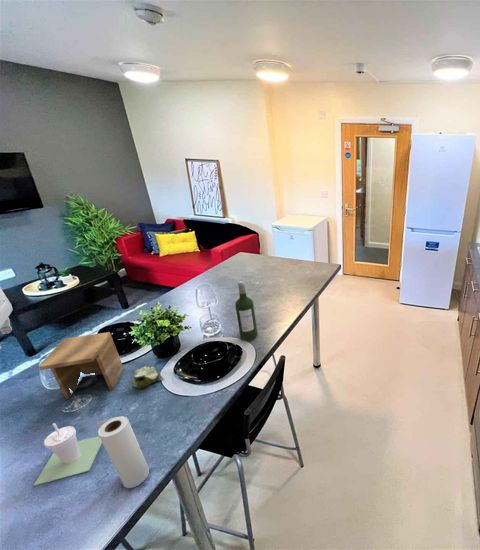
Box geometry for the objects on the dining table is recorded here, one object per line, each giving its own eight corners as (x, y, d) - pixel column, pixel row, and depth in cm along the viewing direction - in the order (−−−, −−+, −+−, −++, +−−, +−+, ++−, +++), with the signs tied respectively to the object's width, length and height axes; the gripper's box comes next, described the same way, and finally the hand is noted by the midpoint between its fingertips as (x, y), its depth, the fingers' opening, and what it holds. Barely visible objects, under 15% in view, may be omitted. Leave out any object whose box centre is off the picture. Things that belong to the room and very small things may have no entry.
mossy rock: (148, 395, 110) (137, 382, 106) (131, 390, 113) (120, 377, 109) (168, 375, 117) (159, 362, 113) (152, 371, 120) (142, 358, 116)
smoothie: (87, 443, 90) (70, 411, 85) (86, 459, 86) (68, 427, 80) (58, 456, 86) (38, 423, 81) (56, 473, 82) (34, 440, 76)
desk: (60, 407, 102) (37, 367, 95) (81, 376, 116) (63, 338, 108) (108, 397, 107) (91, 358, 99) (124, 368, 120) (109, 331, 113)
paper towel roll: (151, 478, 82) (129, 426, 73) (124, 493, 78) (98, 441, 70) (146, 459, 87) (125, 408, 78) (121, 473, 83) (96, 421, 74)
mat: (33, 486, 79) (33, 485, 79) (57, 446, 89) (57, 446, 89) (88, 471, 83) (88, 470, 83) (105, 435, 93) (105, 434, 93)
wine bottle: (254, 329, 149) (246, 277, 137) (259, 336, 144) (252, 283, 131) (238, 334, 144) (229, 281, 132) (243, 342, 139) (234, 287, 127)
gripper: (-27, 285, 81) (-3, 326, 86) (-61, 319, 66) (-29, 365, 72) (7, 280, 84) (28, 320, 90) (-18, 311, 70) (8, 356, 75)
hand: (2, 340), depth 81 cm, fingers open, 8 cm apart
